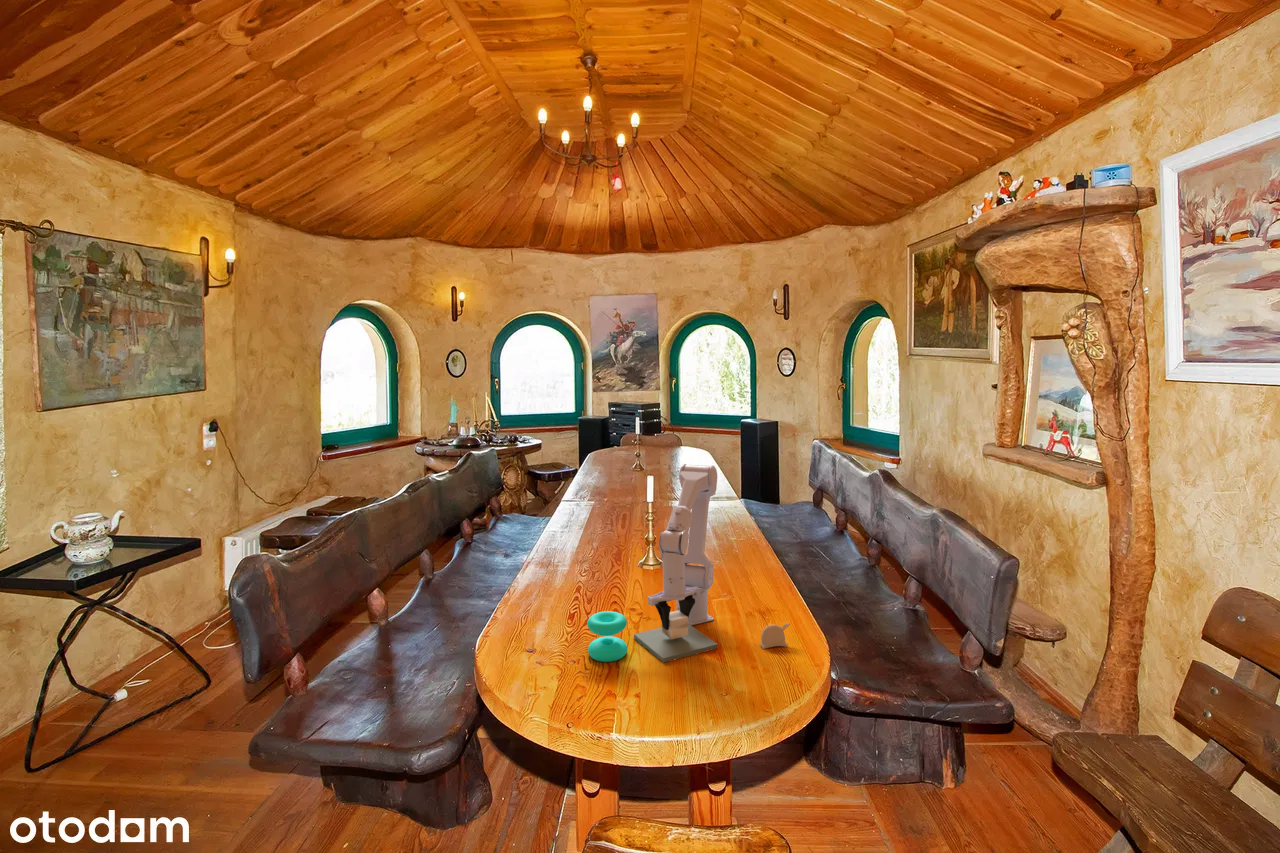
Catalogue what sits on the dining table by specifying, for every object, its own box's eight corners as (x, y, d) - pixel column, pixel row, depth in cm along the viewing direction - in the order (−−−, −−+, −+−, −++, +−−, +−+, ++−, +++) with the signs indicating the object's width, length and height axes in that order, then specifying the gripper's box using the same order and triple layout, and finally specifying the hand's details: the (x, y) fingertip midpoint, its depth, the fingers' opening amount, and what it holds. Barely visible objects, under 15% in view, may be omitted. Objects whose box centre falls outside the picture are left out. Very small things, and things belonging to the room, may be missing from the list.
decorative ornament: (757, 642, 177) (757, 623, 176) (787, 639, 178) (787, 620, 177) (762, 649, 173) (762, 629, 172) (793, 646, 174) (793, 626, 173)
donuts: (634, 617, 170) (602, 628, 163) (635, 655, 171) (604, 667, 164) (610, 606, 177) (579, 616, 171) (611, 642, 178) (580, 654, 172)
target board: (634, 638, 180) (634, 634, 180) (685, 625, 188) (685, 621, 187) (663, 663, 166) (663, 658, 166) (717, 648, 173) (717, 644, 173)
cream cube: (662, 632, 178) (661, 614, 177) (678, 628, 180) (678, 610, 179) (671, 639, 173) (671, 620, 173) (688, 635, 175) (687, 616, 175)
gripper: (656, 586, 168) (657, 638, 170) (705, 575, 174) (706, 625, 176) (643, 577, 174) (644, 627, 176) (691, 568, 181) (692, 616, 182)
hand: (674, 626), depth 176 cm, fingers closed on cream cube, 5 cm apart
